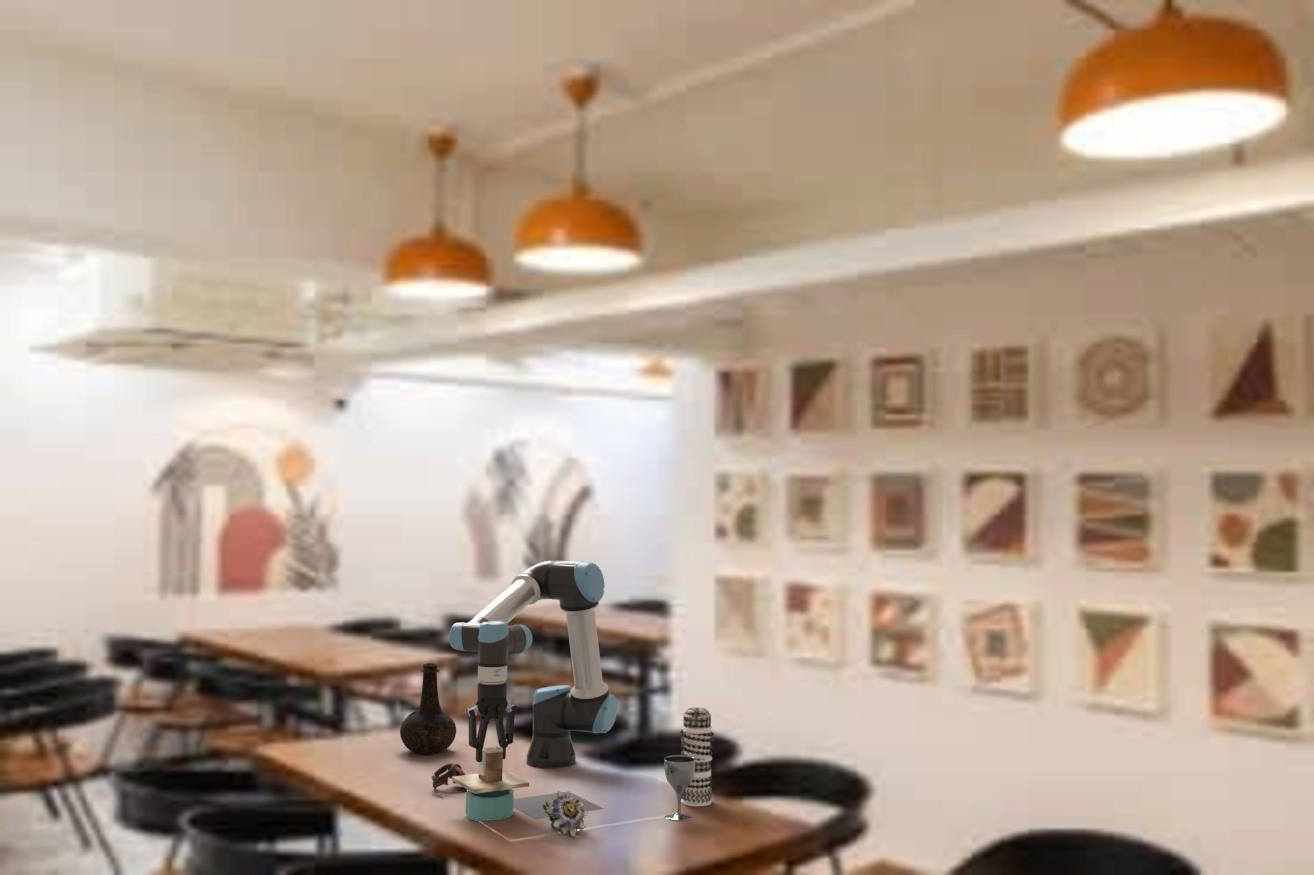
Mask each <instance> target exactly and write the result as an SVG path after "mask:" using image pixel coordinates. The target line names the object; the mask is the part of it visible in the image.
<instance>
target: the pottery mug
mask: <svg viewBox="0 0 1314 875" xmlns="http://www.w3.org/2000/svg"><path fill="white" fill-rule="evenodd" d="M462 768H463V767H462V766H461V765H460V764H459V763H453V762H449V763H447V764H444V765H442V766H441V767H440V768H438V769H437V770H436V771H435V772H434V773H433V775H432V776H431V780H432V787H433V789H434V790H435V789H436V788H437V789H438V787H442V786H443V785H446V786H448V785H449V779H451V780H452V777H454V776H462V775H466V773H465V771H464V770H463V769H462ZM452 784H456V783H455V782H454V781H452ZM437 789H436V790H437ZM464 791H465V792H466V791H467V789H466V788H464Z"/></svg>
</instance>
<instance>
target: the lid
mask: <svg viewBox="0 0 1314 875" xmlns="http://www.w3.org/2000/svg"><path fill="white" fill-rule="evenodd" d="M483 749H485V750H486V769H485V776H482V775H480V774H479V772H477V773H470V774H465V775H462V776H454V777H452V779H451V781H452V782H453V781H454V782H455V783H454V784H458V785H459V786H460V787H462V788H464V789H465V788H466V789H467V790H469V791H471V792H472V793H474V794H476V793H484V792H491V791H499V790H506V789H512V790H513V789H521V788H528V787H530V782H529V781H527V780H525V779H523V778H522V777H519V776H517V775H515V774H513V773H512V772H509V771H507V770H505V769H504V770H503V767H504V765H503V764H504V763H503V760H504V759H503V751H500V750H498V749H496V747H495V746H492V747H483Z"/></svg>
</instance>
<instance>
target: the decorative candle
mask: <svg viewBox="0 0 1314 875" xmlns="http://www.w3.org/2000/svg"><path fill="white" fill-rule="evenodd" d="M682 716H683V725H682V729H681V731H679V734H680V736H682V737H681V738H680V740H679V742H680V743H681V744H680V748H681V749H682V750H681V752H680V755H685V756H691V757H694V758H695V771H694V776H693V780H692V782H691V783H690V784H689V786H688V787H687V788H686V789H685V790H684V792H683V794H682V798H681V805H683V806H684V805H685V806H689V807H706V806H710V805H711V804H712V802H713V801H712V797H713V794H712V793H713V789H712V785H713V783H712V780H713V776H712V769H711V761H712V760H713V757H712V755H713V754H714V752H713V751H712V750H713V749H714V746H713V745H712V744H711V743H712V742H714V738H713V737H714V736H715V733H714V732H713V731H712V728H713V726H712V724H711V723H712V717H713V715H712V714H711V713H710V711H709V710H708V709H707V708H705V707H704V708H703V707H690V708H687V709H686V710H685V712H684V713H682Z"/></svg>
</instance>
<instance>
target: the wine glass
mask: <svg viewBox="0 0 1314 875" xmlns="http://www.w3.org/2000/svg"><path fill="white" fill-rule="evenodd" d="M663 763H664V773H665V774H664V775H665V778H666V781H667V783H668V784H669V785H670V787H671V788H672V790H674V792H675V795H676V801H677V811H676V813H669V814H667V815H665V819H666V820H668V821H672V822H687V821H691V820H692V819H694V817H693V815H691V814H688V813H683V812H682V810H681V809H682V808H681V805H682V803H681V799H682V794H683V792H684V790H685V789H686V788H687V787H688V786H689V784H690V783H691V782H692V780H693V776H694V771H695V758H694V757H691V756H685V755H681V754H676V755H675V754H674V755H668V756H664V762H663Z"/></svg>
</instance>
